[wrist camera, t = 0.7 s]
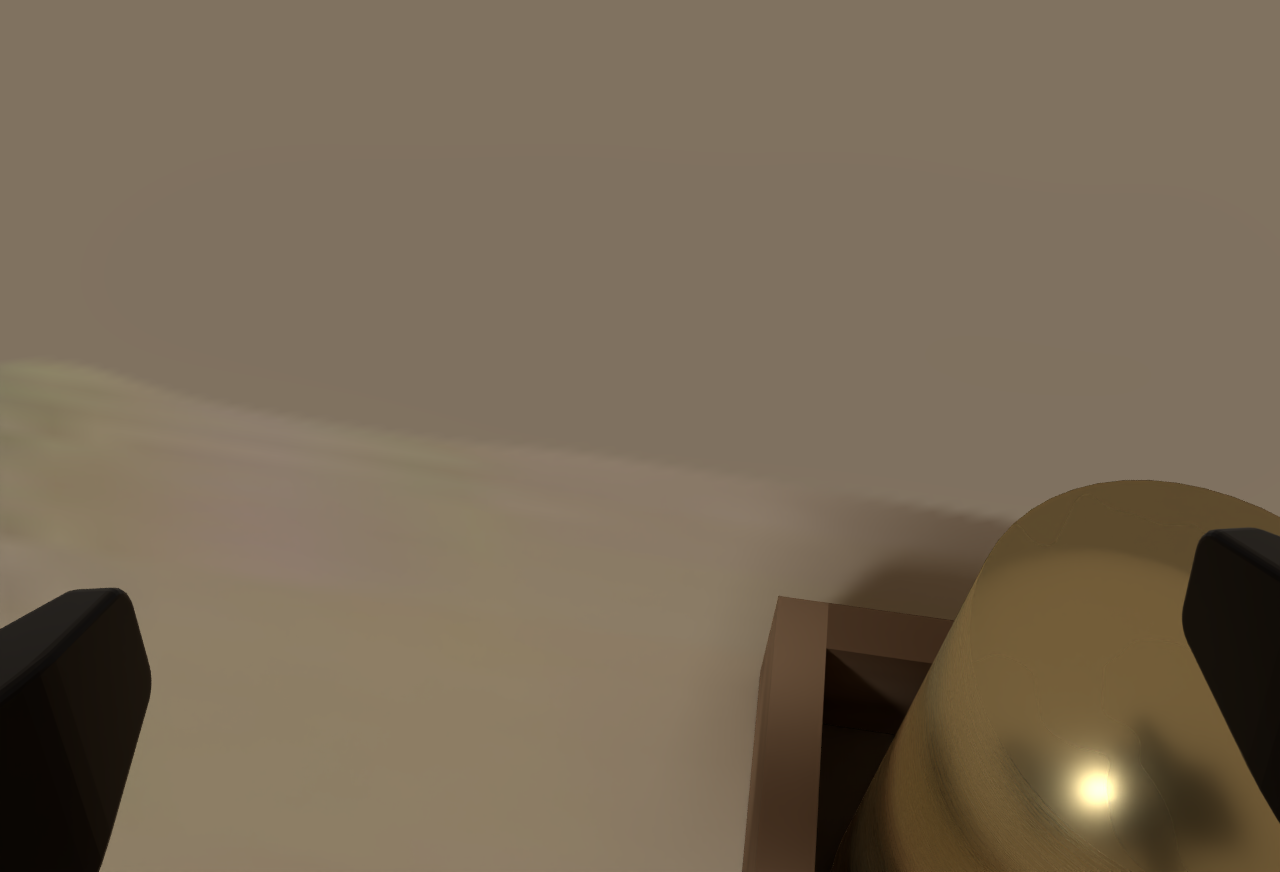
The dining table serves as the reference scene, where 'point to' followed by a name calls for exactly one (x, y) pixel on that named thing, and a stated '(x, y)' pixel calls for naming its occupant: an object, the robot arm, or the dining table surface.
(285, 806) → the dining table surface
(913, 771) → the tan cylinder
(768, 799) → the walnut socket
